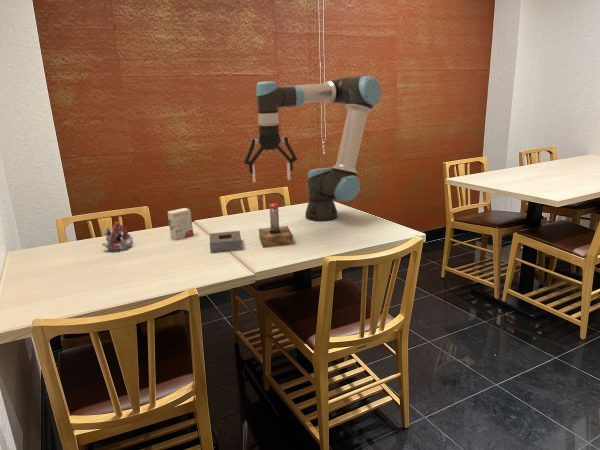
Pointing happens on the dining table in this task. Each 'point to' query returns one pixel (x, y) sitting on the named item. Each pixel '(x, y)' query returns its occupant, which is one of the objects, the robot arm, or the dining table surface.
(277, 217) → the lock pin
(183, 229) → the ink box
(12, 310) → the dining table surface
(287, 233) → the mount
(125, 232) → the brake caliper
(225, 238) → the dock
